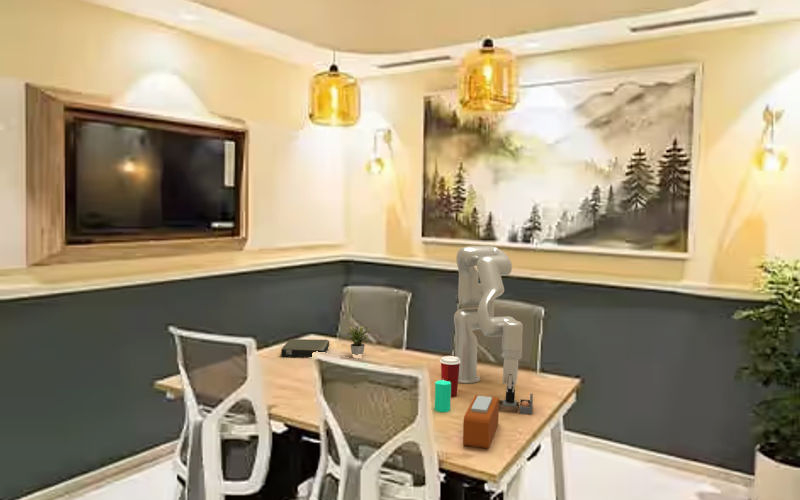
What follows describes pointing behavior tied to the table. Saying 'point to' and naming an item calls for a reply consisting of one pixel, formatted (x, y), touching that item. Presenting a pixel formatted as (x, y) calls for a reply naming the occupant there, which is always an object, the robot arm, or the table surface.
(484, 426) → the alarm clock
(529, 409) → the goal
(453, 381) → the coffee cup
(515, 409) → the frame
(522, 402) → the ball
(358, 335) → the house plant
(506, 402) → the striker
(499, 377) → the table surface
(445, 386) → the candle
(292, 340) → the network switch
